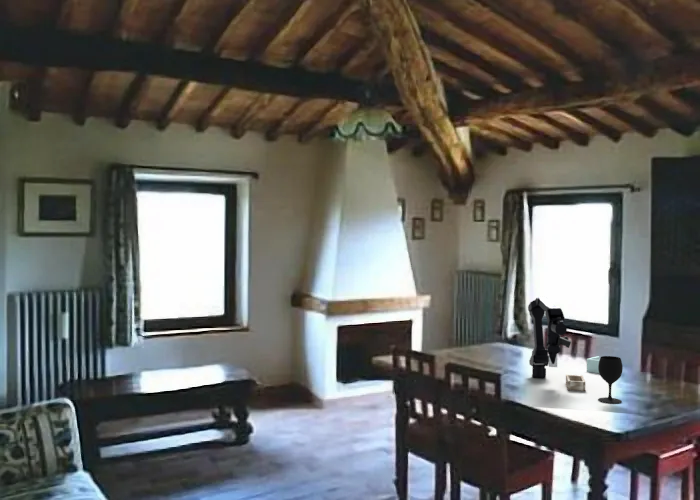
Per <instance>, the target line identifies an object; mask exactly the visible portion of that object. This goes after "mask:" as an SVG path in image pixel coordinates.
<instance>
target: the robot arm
mask: <svg viewBox="0 0 700 500" xmlns="http://www.w3.org/2000/svg"><path fill="white" fill-rule="evenodd" d="M527 308H528V309H527V310H528V313H529V317H530V318H531V319H532V323H533V324H532V325H533V339H534V340H533V342H534V348H533V349H532V351H531V356H530V357H529V360H528V361H529V366H531V368H532V373H531V376H532V377H533V379H546V377H547V368H546V367H549V357H550V359H551V362H552V364H554V363H555V359H556V355H557V356H558V354H559V353H561V352H562V351H561V350H562V348H561V346H564V347H566V348H570V346H571V345H572V341H571V340H570V339H569V337H568V336H564V335H565V334H566V333H567V331H568V328H567V326H566V325H565V323H564V322H565V314H564V312H563V309H562V308H561V307H560V306H557V305H554V304H552V303H551V302H550V301H549V300H548V298H547V297H545V296H544V297H543V296H542V297H541V296H540V297H539V296H538V297H536V298H535V299H534V300H532V301H530V302H529V304H528V305H527ZM544 316H545V317H546V322H547V339H546V341H545V343H544V331H543V330H544V329H543V318H544ZM563 336H564V337H563ZM545 346H546V347H545Z"/></svg>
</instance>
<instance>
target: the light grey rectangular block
mask: <svg viewBox="0 0 700 500" xmlns="http://www.w3.org/2000/svg"><path fill="white" fill-rule="evenodd" d="M548 367H549V368H558V354H557V355H556V359H555V363H554V364H552V362H551V359H550V357H549V362H548Z"/></svg>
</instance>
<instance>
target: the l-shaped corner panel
mask: <svg viewBox="0 0 700 500" xmlns="http://www.w3.org/2000/svg"><path fill="white" fill-rule="evenodd" d="M600 357H601V356H599V355H597V356H592V357H590V358H586V372H589V373H596V374H599V370H598V365H599V360H600Z"/></svg>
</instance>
